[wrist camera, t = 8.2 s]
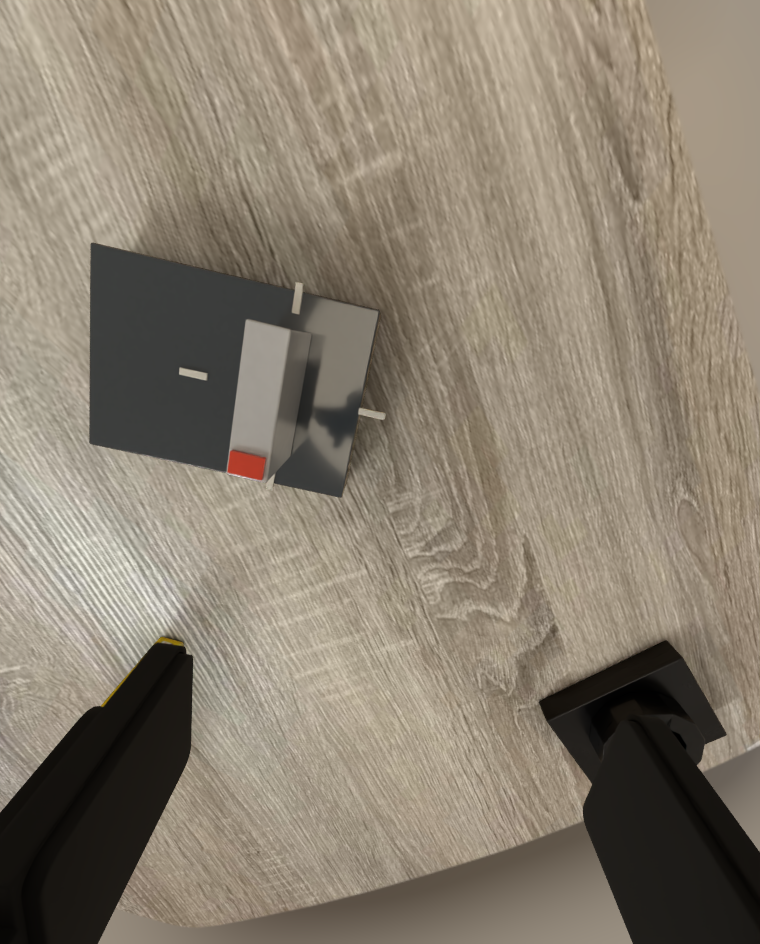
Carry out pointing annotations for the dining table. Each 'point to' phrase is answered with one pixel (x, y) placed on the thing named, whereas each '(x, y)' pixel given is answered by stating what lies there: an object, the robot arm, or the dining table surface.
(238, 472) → the tap handle
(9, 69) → the dining table surface
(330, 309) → the tap plate
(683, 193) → the dining table surface
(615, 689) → the button block
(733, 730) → the dining table surface
